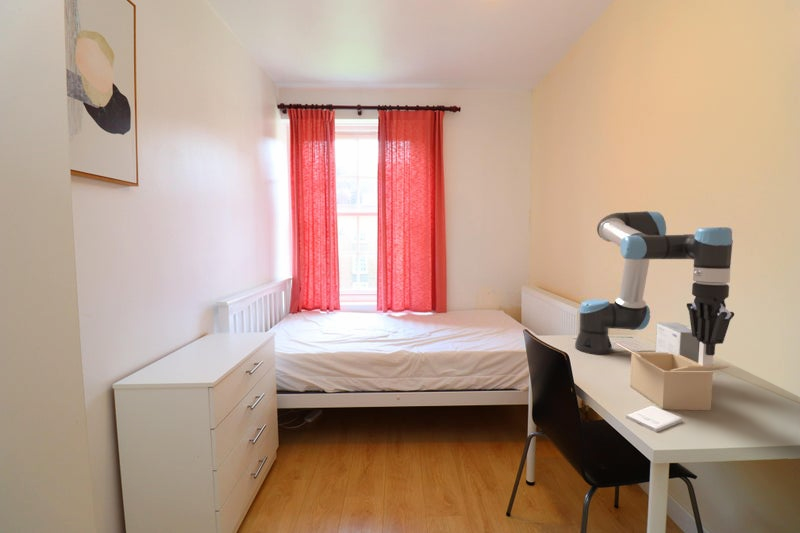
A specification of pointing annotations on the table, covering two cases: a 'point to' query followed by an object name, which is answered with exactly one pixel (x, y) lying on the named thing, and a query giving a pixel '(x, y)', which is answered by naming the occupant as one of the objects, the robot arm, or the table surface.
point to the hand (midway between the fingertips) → (705, 364)
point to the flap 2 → (700, 368)
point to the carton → (671, 381)
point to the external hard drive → (654, 418)
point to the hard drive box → (676, 340)
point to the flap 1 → (637, 355)
